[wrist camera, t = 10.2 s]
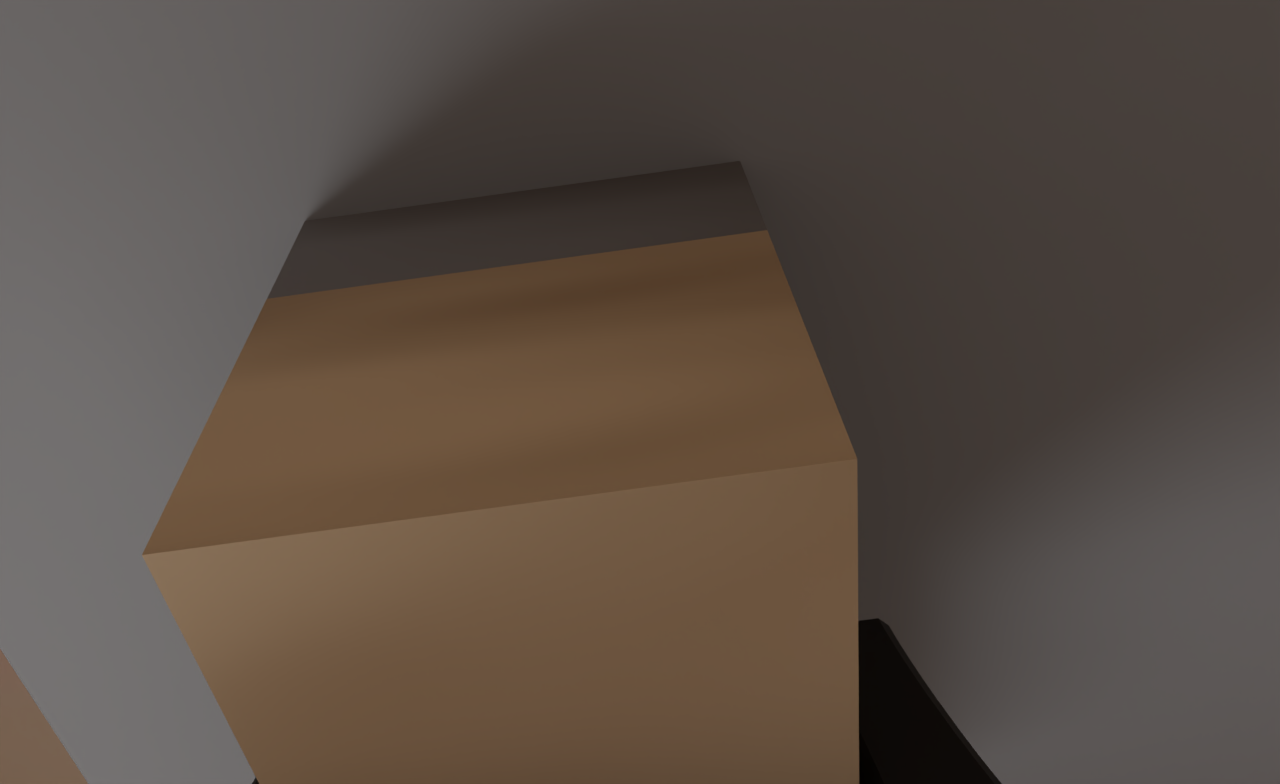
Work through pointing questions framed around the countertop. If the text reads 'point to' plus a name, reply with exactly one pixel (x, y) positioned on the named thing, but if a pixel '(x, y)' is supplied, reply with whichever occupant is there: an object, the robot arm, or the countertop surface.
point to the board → (816, 273)
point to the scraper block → (528, 502)
